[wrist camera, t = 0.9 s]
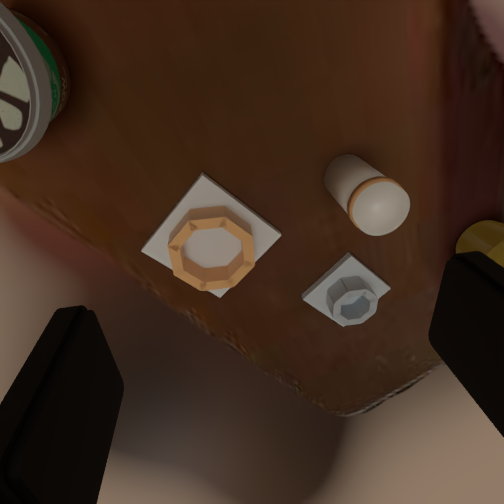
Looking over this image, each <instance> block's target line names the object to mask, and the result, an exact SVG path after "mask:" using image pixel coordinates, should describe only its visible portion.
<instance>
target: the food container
mask: <svg viewBox="0 0 504 504" xmlns="http://www.w3.org/2000/svg"><path fill="white" fill-rule="evenodd" d="M70 93H71V77H70V72H69V68H68V65H67V62H66V60H65V58H64V56H63V54H62V52H61V50H60V49H59V47H58V45H57V44H56V42H55V41H54V40H53V39H52V38H51V36H50V35H49V34H48V33H47V32H46V31H45V30H44V29H43V28H42V27H41V26H39V25H38V24H37V23H35V22H34V21H33V20H31V19H30V18H28V17H26V16H25V15H23V14H21V13H19V12H17V11H14V10H12V9H10V8H7V7H5V6H4V5H3V4H2V3H1V2H0V163H1V162H6V161H9V160H13V159H16V158H18V157H20V156H22V155H24V154H26V153H27V152H28V151H30V150H31V149H32V148H33V147H35V145H36V144H37V143H38V142H39V141H40V140H41V138H42V137H43V135H44V133H45V131H46V129H47V127H48V124H49V122H51V121H52V120H53V119H55V118H56V117H57V116H58V115H59V114H60V113H61V111H62V110H63V109H64V108H65V107H66V105H67V102H68V100H69V97H70Z"/></svg>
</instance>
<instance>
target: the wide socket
mask: <svg viewBox="0 0 504 504" xmlns="http://www.w3.org/2000/svg"><path fill="white" fill-rule="evenodd" d="M280 236H281V233H280V231H279V230H277V229H276V228H275V227H274V226H272V225H271V224H270V223H268V222H267V221H266V220H264V219H263V218H262V217H261V216H259V215H258V214H257V213H255V212H254V211H253V210H251V209H250V208H249V207H247V206H246V205H245V204H244V203H242V202H241V201H240V200H238V199H237V198H236V197H234V196H233V195H232V194H230V193H229V192H228V191H227V190H225V189H224V188H223V187H221V186H220V185H219V184H217V183H216V182H215V181H214V180H212V179H211V178H210V177H208V176H207V175H206V174H204V173H203V172H202V173H201V174H200V176H199V177H198V178H197V179H196V181H195V182H194V183H193V184H192V186H191V187H190V188H189V189H188V191H187V192H186V193H185V194H184V196H183V197H182V198H181V199H180V201H179V202H178V203H177V204H176V206H175V207H174V208H173V209H172V211H171V212H170V213H169V214H168V216H167V217H166V218H165V219H164V221H163V222H162V223H161V224H160V226H159V227H158V228H157V229H156V231H155V232H154V233H153V234H152V236H151V237H150V238H149V239H148V241H147V242H146V243H145V244H144V246H143V247H142V250H141V251H142V252H143V253H145V254H147V255H148V256H150V257H152V258H154V259H155V260H157V261H159V262H160V263H162V264H164V265H165V266H167V267H169V268H171V269H172V270H173V273H174V275H175V276H176V277H178V278H180V279H181V280H183V281H185V282H187V283H188V284H190V285H192V286H194V287H195V288H197V289H199V290H200V291H206V290H208V291H210V292H211V293H213V294H215V295H216V296H218V297H221V296H222V295H223V294H224V293H225V292H226V291H227V290H228V289H229V288H231V287H234V286H235V285H236V284H237V283H238V282H239V281H240V280H241V279H242V278H243V277H244V276H245V275H246V274H247V273H248V272H249V271H250V270H251V269H252V268H253V267H254V266H255V262H256V261H257V260H258V259H259V258H260V257H261V256H262V255H263V254H264V253H265V252H266V251H267V250H268V249H269V248H270V247H271V246H272V245H273V244H274V243H275V241H276V240H277V239H278V238H279V237H280Z"/></svg>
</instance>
